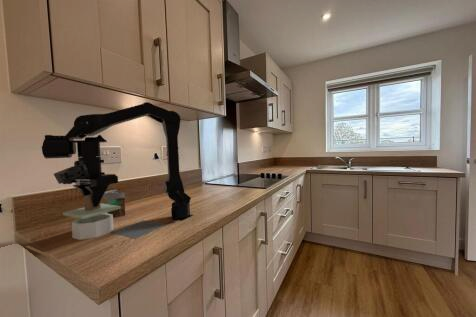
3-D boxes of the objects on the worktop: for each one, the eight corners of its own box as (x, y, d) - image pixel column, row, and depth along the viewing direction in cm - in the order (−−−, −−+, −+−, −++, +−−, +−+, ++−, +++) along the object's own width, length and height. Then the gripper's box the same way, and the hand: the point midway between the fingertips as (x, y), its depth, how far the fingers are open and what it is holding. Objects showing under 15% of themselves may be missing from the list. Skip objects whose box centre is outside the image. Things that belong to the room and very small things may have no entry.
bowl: (101, 226, 70) (100, 212, 70) (119, 230, 65) (118, 215, 65) (67, 237, 61) (66, 221, 61) (85, 243, 57) (84, 225, 56)
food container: (101, 215, 84) (99, 191, 83) (118, 211, 88) (116, 189, 88) (108, 221, 75) (106, 195, 75) (126, 217, 79) (124, 192, 79)
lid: (101, 205, 70) (100, 191, 70) (120, 208, 65) (119, 192, 65) (62, 215, 60) (61, 198, 60) (82, 219, 55) (81, 200, 55)
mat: (143, 221, 73) (143, 220, 73) (167, 225, 68) (167, 224, 68) (110, 233, 63) (110, 232, 63) (135, 240, 57) (135, 238, 57)
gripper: (42, 158, 59) (45, 210, 60) (74, 157, 51) (78, 217, 51) (84, 157, 69) (87, 201, 70) (117, 155, 61) (120, 206, 61)
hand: (92, 206), depth 63 cm, fingers closed on lid, 3 cm apart
